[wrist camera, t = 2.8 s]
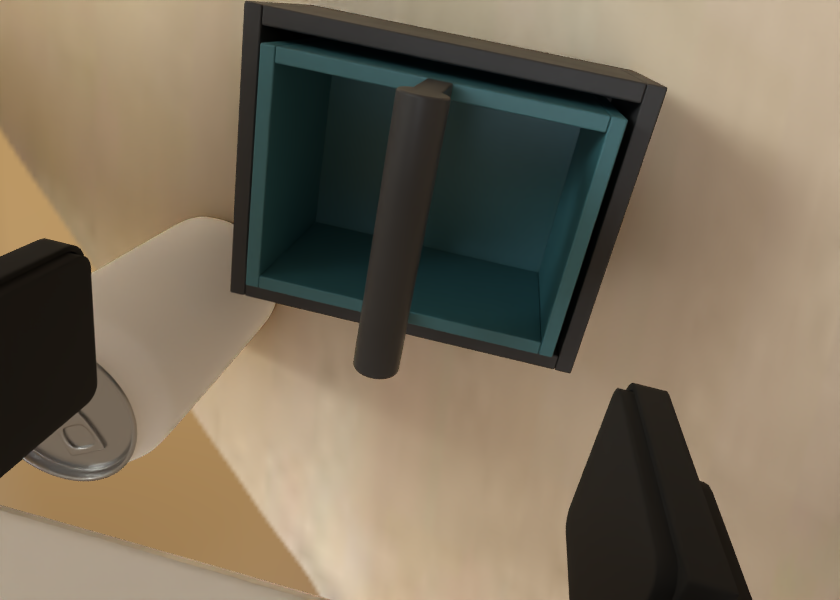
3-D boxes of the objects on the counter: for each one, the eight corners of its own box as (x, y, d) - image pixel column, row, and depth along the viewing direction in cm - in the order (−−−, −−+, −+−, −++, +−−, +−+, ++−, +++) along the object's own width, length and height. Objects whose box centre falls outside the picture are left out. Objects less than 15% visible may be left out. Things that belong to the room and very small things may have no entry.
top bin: (307, 226, 28) (191, 335, 19) (327, 36, 25) (197, 47, 15) (546, 281, 28) (556, 424, 18) (602, 93, 24) (653, 144, 14)
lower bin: (289, 237, 30) (229, 292, 24) (311, 4, 25) (243, 0, 19) (561, 300, 29) (570, 373, 23) (633, 70, 24) (668, 87, 18)
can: (247, 197, 29) (81, 303, 18) (301, 317, 31) (182, 475, 20) (136, 234, 31) (-76, 351, 20) (194, 345, 33) (32, 504, 22)
